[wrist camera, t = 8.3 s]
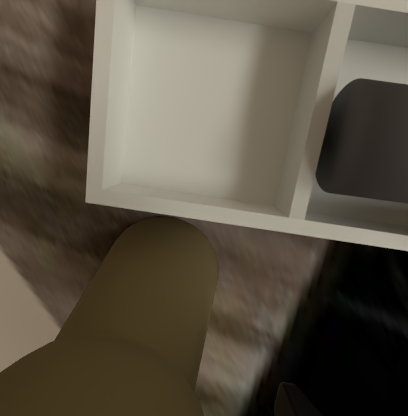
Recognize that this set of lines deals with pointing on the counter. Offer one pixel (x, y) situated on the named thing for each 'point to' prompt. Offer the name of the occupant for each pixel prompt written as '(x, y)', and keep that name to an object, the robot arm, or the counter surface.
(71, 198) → the counter surface
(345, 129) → the dark grey cylinder
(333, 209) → the slot tray
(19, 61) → the counter surface
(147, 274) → the cork
